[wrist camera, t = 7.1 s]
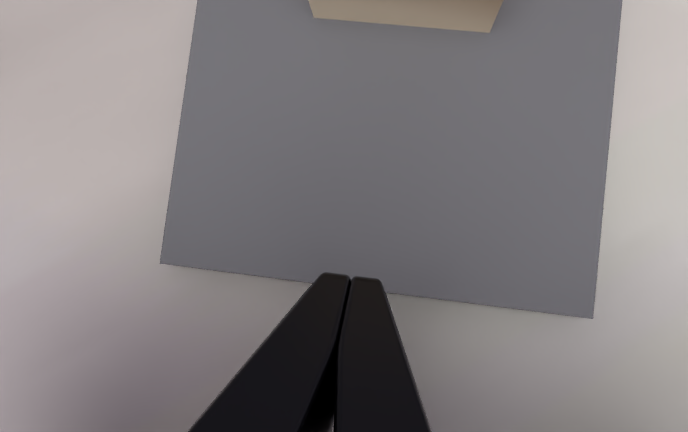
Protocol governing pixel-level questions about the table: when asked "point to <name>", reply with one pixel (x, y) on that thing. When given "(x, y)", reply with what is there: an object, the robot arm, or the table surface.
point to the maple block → (413, 12)
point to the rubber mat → (399, 151)
